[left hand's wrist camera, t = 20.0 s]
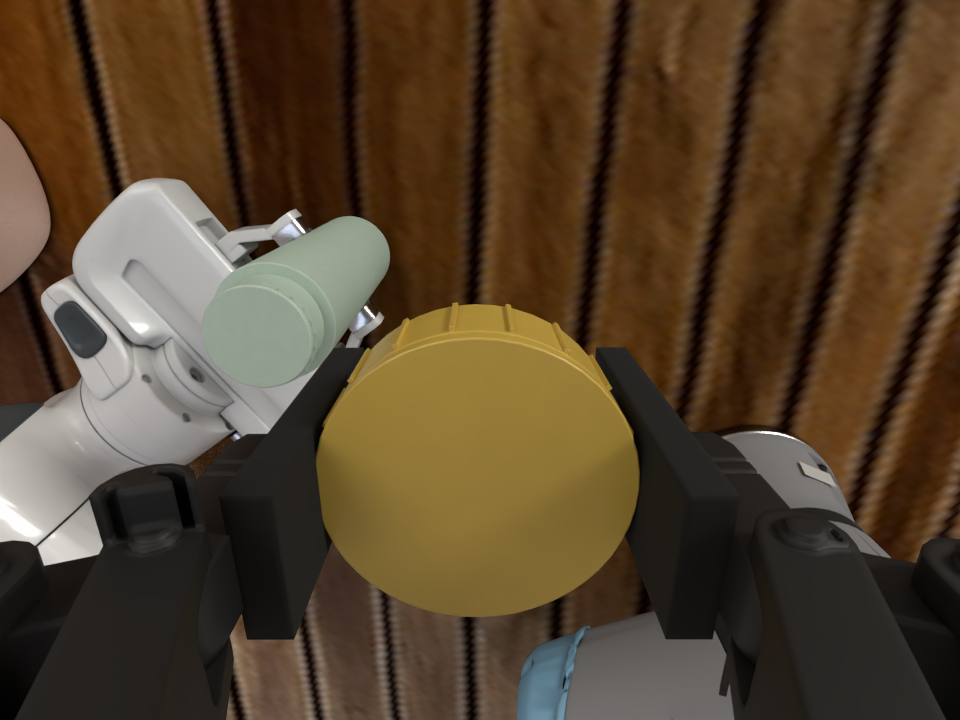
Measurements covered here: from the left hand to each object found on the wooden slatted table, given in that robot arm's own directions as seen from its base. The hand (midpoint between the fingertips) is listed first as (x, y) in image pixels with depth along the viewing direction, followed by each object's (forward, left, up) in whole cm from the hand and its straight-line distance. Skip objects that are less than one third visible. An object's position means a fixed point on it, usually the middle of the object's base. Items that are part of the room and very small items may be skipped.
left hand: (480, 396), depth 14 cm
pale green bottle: (-1, +9, -26) cm, 28 cm away
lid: (0, 0, +4) cm, 4 cm away
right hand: (0, +8, -20) cm, 21 cm away
